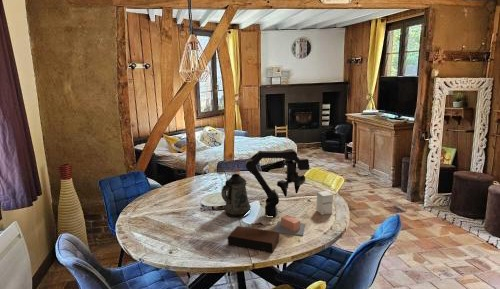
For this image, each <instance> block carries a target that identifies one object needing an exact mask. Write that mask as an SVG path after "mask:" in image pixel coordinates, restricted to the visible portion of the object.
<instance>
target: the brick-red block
mask: <svg viewBox="0 0 500 289" xmlns="http://www.w3.org/2000/svg"><path fill="white" fill-rule="evenodd" d="M280 221H281V226H283V227H285V228H287V229H289V230H291V231H293V232H295V231H297V230H299V229H300V223H301V220H299V219H297V218H295V217H293V216H290V215H289V214H287V215H283V216H281V218H280Z"/></svg>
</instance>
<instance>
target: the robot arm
mask: <svg viewBox="0 0 500 289" xmlns="http://www.w3.org/2000/svg"><path fill="white" fill-rule="evenodd" d="M262 159H283V164H284V165H286V171H285V174H286V177H285V178H284V180H283V179H282V180H278V181H277V182H276V186H277V187H279V188H280V190H281V191H282V194H283V195H284V197H285V198H286V197H287V196H288V189H289V188H290V187H289V184H294V192H295V193H296V194H298V192H299V189H300V187H301V185H303V184H304V183H305V182H306V176H305V175H299V172H298V171H297V169H298V170H299V171H309V170H310V162H309V161H310V160H309V159H308V158H299V156H298V153H297V152H296V150H295V149H293V148H289V149H284V150H258V151H257V152H256V153H255V154H253V155H252V156H251V157H250V158H247V159H246V160H245V169H246V170H248V172H249V173H250V174H252V175H253V177H254V178H255V179H256V180H257V182H258V183H259V185H260V187H261V188H262V190H263V191H264V192H265V194H266V197H267V198H266V199H265V200H264V202H265V206H264V215H265V214H267V215H268V216H273V217H274V218H276V216H277V214H278V211H277V210H278V208H277V205H278V204H279V202H280V199H279V198H280V197H279V193H277V191H276V189H275V188H274V189H272V188H271V187H270V186H269V184H268V183H267V181H266V179H265V178H264V176H263V175H262V174H261V172H260V171H259V168H258V166H257V165H258V164H259V163H260V162H261V161H262ZM285 180H286V181H285ZM273 217H272V218H273Z"/></svg>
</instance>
